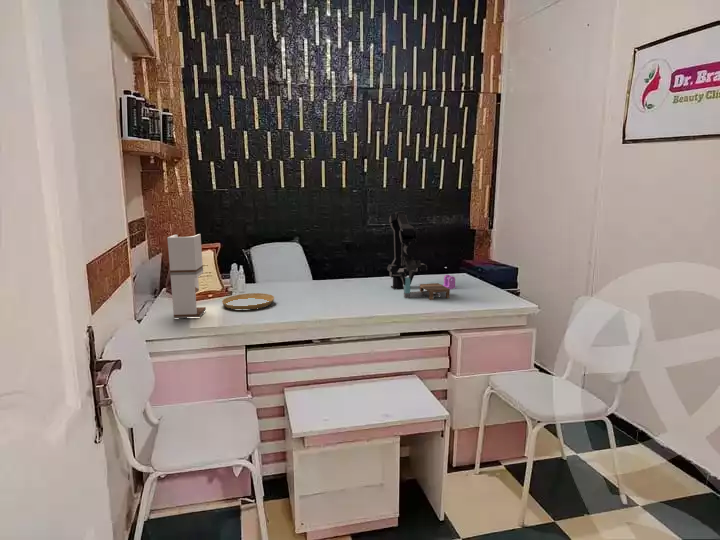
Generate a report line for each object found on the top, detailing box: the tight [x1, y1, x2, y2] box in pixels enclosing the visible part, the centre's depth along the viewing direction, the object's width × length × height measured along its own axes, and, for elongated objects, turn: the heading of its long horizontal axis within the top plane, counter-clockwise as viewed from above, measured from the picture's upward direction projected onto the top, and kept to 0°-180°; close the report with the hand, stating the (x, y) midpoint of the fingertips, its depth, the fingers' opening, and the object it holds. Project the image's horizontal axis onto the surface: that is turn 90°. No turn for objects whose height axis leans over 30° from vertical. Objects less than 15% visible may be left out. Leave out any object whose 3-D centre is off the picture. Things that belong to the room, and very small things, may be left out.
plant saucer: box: [221, 292, 275, 310], centre depth 229 cm, size 24×24×3 cm
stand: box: [419, 282, 451, 301], centre depth 243 cm, size 15×10×5 cm, turn 13°
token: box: [433, 292, 441, 298], centre depth 244 cm, size 5×5×1 cm
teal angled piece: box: [403, 276, 429, 299], centre depth 241 cm, size 2×14×10 cm, turn 103°
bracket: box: [442, 274, 456, 290], centre depth 259 cm, size 13×6×7 cm, turn 111°
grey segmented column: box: [166, 233, 206, 319], centre depth 209 cm, size 11×11×35 cm
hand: (407, 284), depth 240 cm, fingers closed on teal angled piece, 2 cm apart
